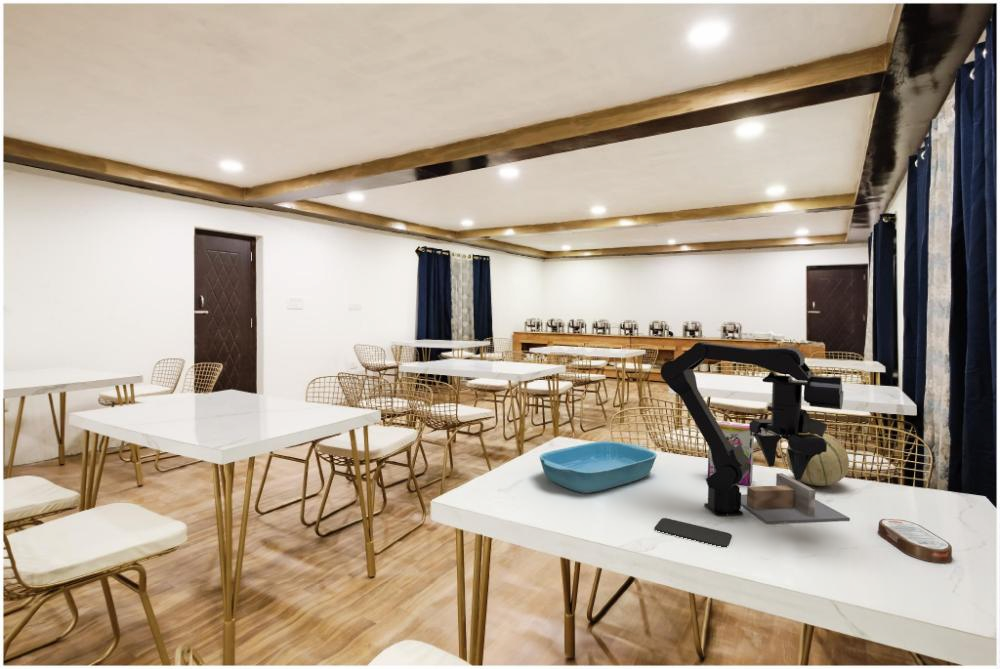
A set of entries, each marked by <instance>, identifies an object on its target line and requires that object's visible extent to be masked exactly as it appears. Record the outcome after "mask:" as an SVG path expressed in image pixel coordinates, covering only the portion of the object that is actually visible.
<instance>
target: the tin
mask: <svg viewBox="0 0 1000 669" xmlns="http://www.w3.org/2000/svg"><path fill="white" fill-rule="evenodd" d="M877 533H878V536H880V537H882V538H883V540H886V541H887V542H889V543H890V544H891V545H893V546H894V547H896V549H899V550H900V551H901V552H902V553H904V554H905V555H908V556H910V557H912V558H915V559H918V560H921V561H922V560H923V561H926V562H932V563H939V564H943V563H944V564H947V563H951V562H952V561H953V557H952V556H953V548H952V545H951V543H949V542H948V541H947V540H945V539H943V538H941V537H940V536H939V535H937V534H935V533H934V532H932V531H930V530H928V529H927V528H925V527H923V526H922V525H921V524H917V523H915V522H911V521H908V520H905V519H893V518H891V519H890V518H889V519H888V518H881V519H880V520H879V521H878V528H877Z"/></svg>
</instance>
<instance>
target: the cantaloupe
mask: <svg viewBox="0 0 1000 669" xmlns="http://www.w3.org/2000/svg"><path fill="white" fill-rule="evenodd" d="M808 434H811V433H809V432H808ZM813 435H816V436H818V435H817V434H813ZM818 437H820V436H818ZM821 438H823V439H824V440H825V441H826V442H827V452H822V453H821V454H817V455H815V456H814V457H812V458H811V460H810V461H809V463H808V465H807V467H806V469H805V472H804V474H803V476H802V478H801V480H800V481H801V482H803V483H805V484H807V485H811V486H817V487H827V486H832V485H834V484H836V483H839V482H840V481H842V480H843V479H844V478H845V477H846V475H847V473H848V472H849V467H850V460H849V458H850V457H849V455H848V452H847V449H846V448H845V446H844V445H843V443H841V441H839V440H838V439H837V438H835V437H834V436H833V435H831V434H828V433H825V432H824V435H823V437H821ZM788 449H791V448H790V446H789V444H788V445H787V448H786V450H785V451H786V452H785V456H786V463H787V465H788V466H787V467H788V469H789V470H790V472H791V473H792V474H793V470H792V466H791V462H790V458H789V454H788Z"/></svg>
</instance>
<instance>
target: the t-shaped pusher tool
mask: <svg viewBox="0 0 1000 669" xmlns="http://www.w3.org/2000/svg"><path fill="white" fill-rule="evenodd" d="M775 475H776V479H775V480H776V481H775V485H760V486H759V485H758V486H756V485H755V486H754V485H753V486H747V487H746V488H747V490H746V494H747V505H748V506H749V507H751V508H752V509H754V510H757V509H784V508H793V507H794V508H796V509H798V510H799V511H801V512H803V513H805V514H806V515H808V516H814V512H815V500H816V489H814V488H812V487H810V486H808V485H806V484H804V483H802V482H800V481H799V480H796V479H795V478H792V477H790V476H788V475H787V474H784V473H783V472H782V473H781V472H780V473H777V472H776V474H775Z"/></svg>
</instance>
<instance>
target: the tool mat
mask: <svg viewBox="0 0 1000 669" xmlns="http://www.w3.org/2000/svg"><path fill="white" fill-rule="evenodd" d="M742 506H743V507H742ZM741 507H742V508H744V509H745V510H747V511H749V513H751V514H752V515H754V516H755V517H757V518H759V519H760V520H761V521H762V522H764V523H765V524H767V525H769V524H773V525H774V524H792V523H816V522H817V523H818V522H820V523H821V522H842V521H843V522H844V521H845V522H846V521H847V522H848V521H851V520H850V519H851V517H848V516H847V515H845V514H844V513H841V512H840V511H837V510H836V509H834V508H832V507H831V506H828V505H826V504H825V503H823V502H821V501H819V500H817V499H815V512H814V516H808V515H806V514H805V513H803V512H801V511H799V510H798V509H796V508H794V507H793V508H784V509H757V510H754V509H752V508H751V507H749V506H748V505H747V493H746V494H741Z"/></svg>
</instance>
